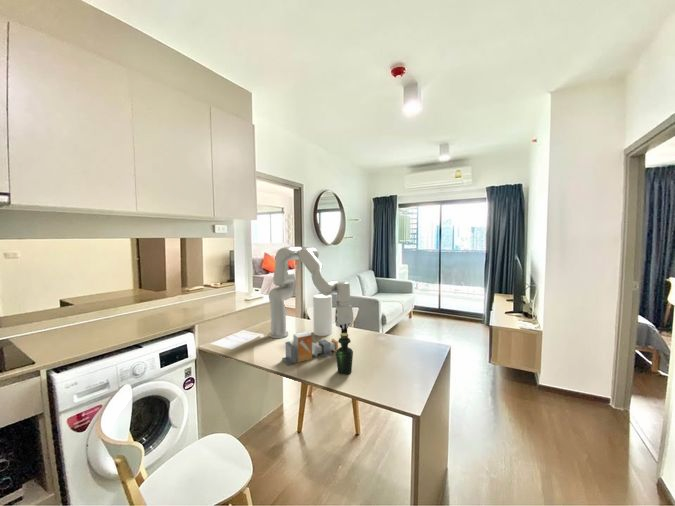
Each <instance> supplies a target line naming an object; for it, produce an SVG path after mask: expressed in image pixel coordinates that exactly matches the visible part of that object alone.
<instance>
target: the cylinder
mask: <svg viewBox="0 0 675 506" xmlns="http://www.w3.org/2000/svg"><path fill="white" fill-rule="evenodd" d="M332 295H333V294H331V295H328V296H325V295H323V294H321V293H319V294H314V295H313V297H312V299H313V300H312V301H313V302H312V305H313V306H312V307H313V308H312V309H313V312H312V315H313V318H312V319H313V334H314V335H315V336H319V337H326V336H330V335H332V334H333V296H332Z"/></svg>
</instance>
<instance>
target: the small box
mask: <svg viewBox="0 0 675 506" xmlns="http://www.w3.org/2000/svg"><path fill="white" fill-rule="evenodd" d="M312 342H313V335H312V334H311V333H310V332H309V331H304V332H299V333H294V334H293V345H294V346H295V361H296V362H297V363H299V362H304V361H309V360H312V359H313V354H312Z"/></svg>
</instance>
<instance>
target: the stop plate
mask: <svg viewBox="0 0 675 506" xmlns="http://www.w3.org/2000/svg"><path fill="white" fill-rule="evenodd" d="M281 360H282V362H284V363H285V365H286V366H288V367H289V366H292V365H295V364H296V360H295V346H294V344H293V343H292V342H291V341H286V342H285V357H282V358H281Z"/></svg>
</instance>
